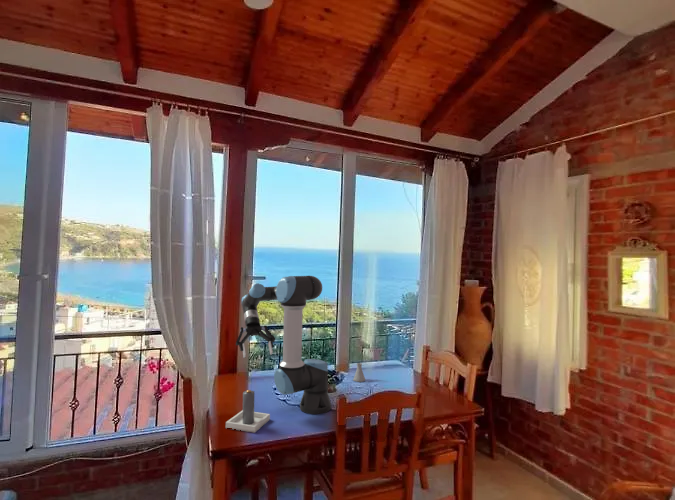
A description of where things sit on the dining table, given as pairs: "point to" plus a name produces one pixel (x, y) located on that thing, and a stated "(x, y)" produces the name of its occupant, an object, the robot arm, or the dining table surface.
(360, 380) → the flask
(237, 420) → the tray
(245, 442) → the dining table surface
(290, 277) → the robot arm
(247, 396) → the charcoal cell
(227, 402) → the dining table surface
